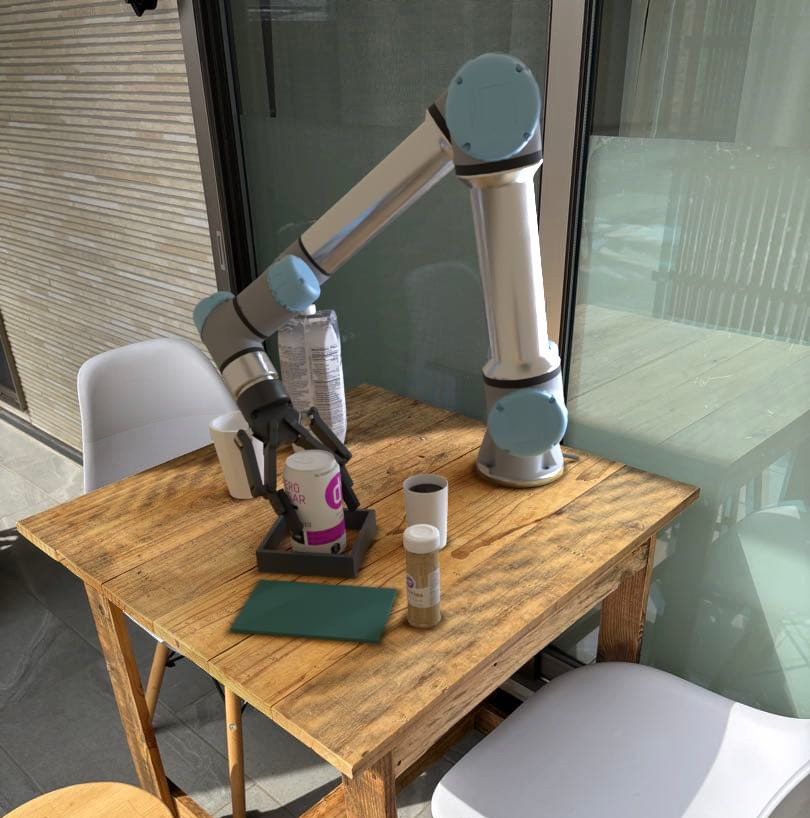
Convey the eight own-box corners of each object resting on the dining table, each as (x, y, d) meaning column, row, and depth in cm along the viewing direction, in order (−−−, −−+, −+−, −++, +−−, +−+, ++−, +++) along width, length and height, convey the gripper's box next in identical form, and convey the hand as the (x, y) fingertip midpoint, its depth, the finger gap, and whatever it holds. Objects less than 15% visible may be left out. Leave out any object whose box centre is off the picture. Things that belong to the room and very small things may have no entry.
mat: (397, 592, 118) (396, 588, 118) (378, 644, 108) (378, 640, 108) (260, 582, 122) (260, 579, 122) (230, 632, 112) (229, 628, 111)
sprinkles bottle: (400, 621, 112) (395, 533, 105) (422, 606, 115) (418, 519, 108) (427, 634, 109) (423, 544, 103) (448, 617, 112) (446, 529, 106)
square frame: (376, 528, 134) (375, 509, 132) (355, 578, 122) (353, 557, 120) (288, 523, 137) (286, 504, 135) (258, 572, 124) (255, 551, 123)
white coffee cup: (418, 557, 126) (416, 498, 121) (398, 538, 131) (395, 480, 126) (457, 545, 128) (456, 486, 123) (436, 527, 134) (434, 469, 129)
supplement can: (354, 539, 131) (347, 450, 124) (333, 567, 125) (324, 475, 117) (306, 533, 134) (296, 445, 126) (283, 559, 127) (271, 468, 120)
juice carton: (346, 458, 157) (333, 313, 144) (290, 460, 158) (272, 316, 144) (349, 439, 165) (337, 299, 152) (295, 441, 166) (279, 302, 152)
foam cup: (280, 478, 151) (271, 410, 145) (268, 503, 143) (258, 431, 137) (229, 478, 152) (217, 410, 146) (214, 502, 144) (201, 432, 138)
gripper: (311, 384, 136) (377, 505, 133) (185, 422, 124) (255, 555, 121) (326, 359, 129) (397, 486, 127) (196, 396, 118) (270, 537, 115)
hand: (327, 520), depth 124 cm, fingers open, 9 cm apart
